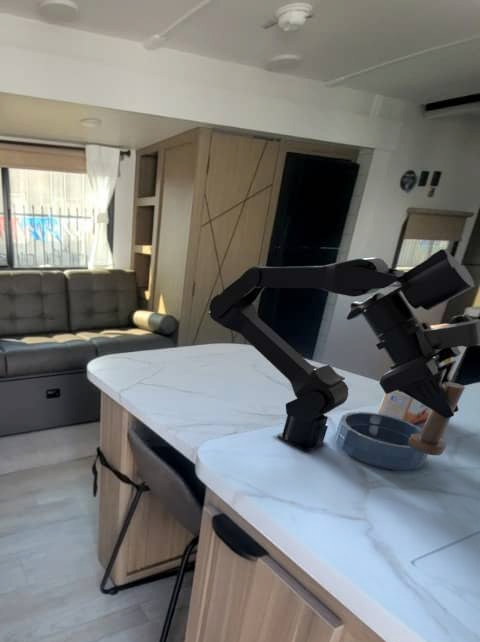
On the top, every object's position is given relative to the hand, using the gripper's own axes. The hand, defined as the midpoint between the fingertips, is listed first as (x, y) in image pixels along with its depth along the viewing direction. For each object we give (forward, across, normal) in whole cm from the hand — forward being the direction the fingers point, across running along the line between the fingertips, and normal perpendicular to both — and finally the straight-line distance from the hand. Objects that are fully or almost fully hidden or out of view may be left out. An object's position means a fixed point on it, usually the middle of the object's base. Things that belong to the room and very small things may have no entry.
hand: (452, 414), depth 62 cm
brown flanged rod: (+4, 0, +6) cm, 7 cm away
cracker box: (+3, +31, +17) cm, 35 cm away
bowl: (+4, +8, +16) cm, 18 cm away
